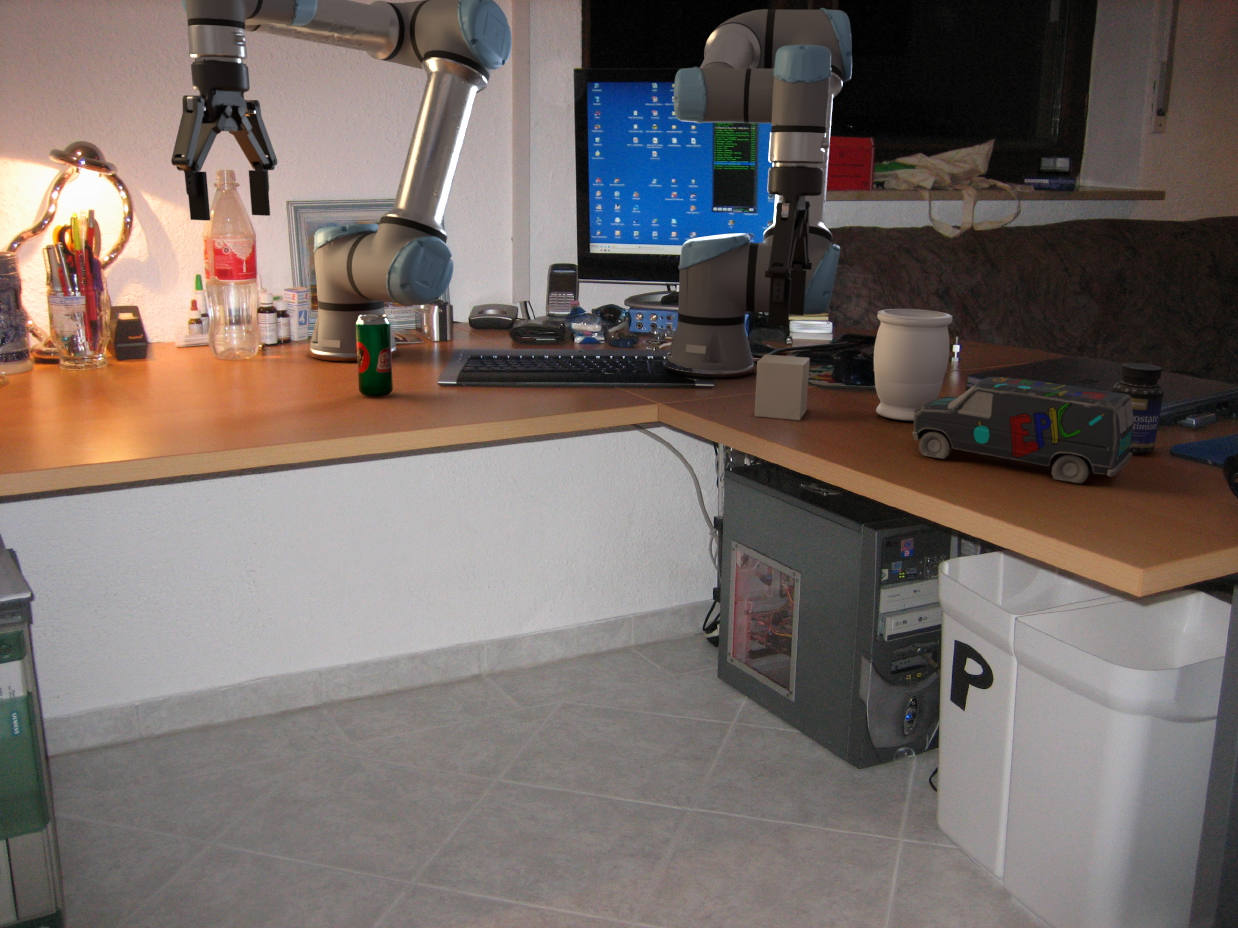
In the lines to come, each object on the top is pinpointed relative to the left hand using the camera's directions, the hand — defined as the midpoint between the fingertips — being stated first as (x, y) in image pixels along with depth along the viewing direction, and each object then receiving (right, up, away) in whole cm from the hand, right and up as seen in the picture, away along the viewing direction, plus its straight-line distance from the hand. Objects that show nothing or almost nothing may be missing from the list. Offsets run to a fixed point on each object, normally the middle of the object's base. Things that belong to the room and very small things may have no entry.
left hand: (232, 218), depth 155 cm
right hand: (+80, -15, -2) cm, 81 cm away
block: (+80, -28, +2) cm, 85 cm away
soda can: (+19, -25, +9) cm, 33 cm away
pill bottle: (+123, -34, -14) cm, 128 cm away
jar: (+98, -29, +2) cm, 102 cm away
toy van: (+106, -36, -21) cm, 113 cm away
